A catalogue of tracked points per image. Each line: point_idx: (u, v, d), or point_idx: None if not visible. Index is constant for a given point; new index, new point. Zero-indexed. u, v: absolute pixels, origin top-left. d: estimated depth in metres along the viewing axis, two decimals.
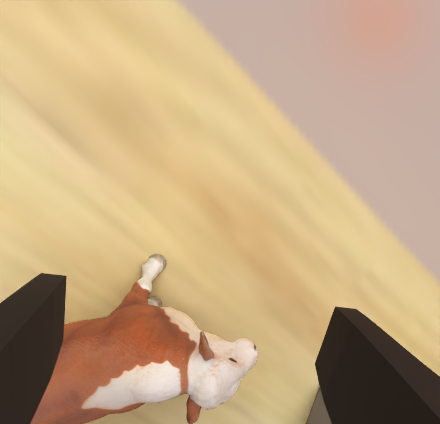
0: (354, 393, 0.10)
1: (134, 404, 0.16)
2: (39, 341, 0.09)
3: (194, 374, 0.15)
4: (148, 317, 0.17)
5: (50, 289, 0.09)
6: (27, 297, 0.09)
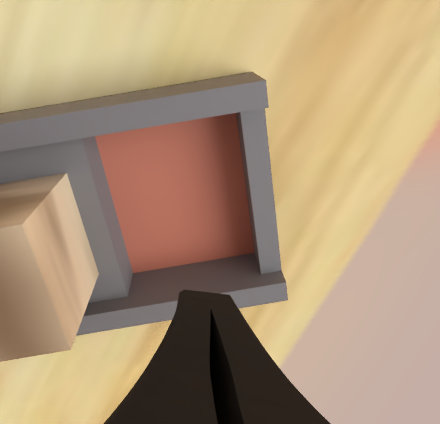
0: None
1: None
2: None
3: None
4: None
5: (206, 306, 0.10)
6: (193, 315, 0.09)
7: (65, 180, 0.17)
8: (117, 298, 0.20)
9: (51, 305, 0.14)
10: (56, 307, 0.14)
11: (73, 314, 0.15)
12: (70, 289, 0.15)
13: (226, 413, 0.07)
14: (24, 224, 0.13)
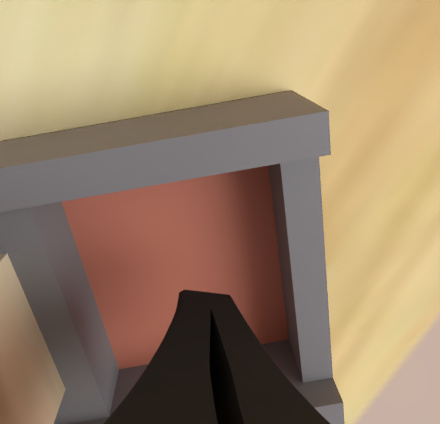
0: None
1: None
2: None
3: None
4: None
5: (206, 306, 0.10)
6: (193, 315, 0.09)
7: (3, 267, 0.11)
8: (93, 420, 0.14)
9: None
10: None
11: None
12: None
13: (226, 413, 0.07)
14: None
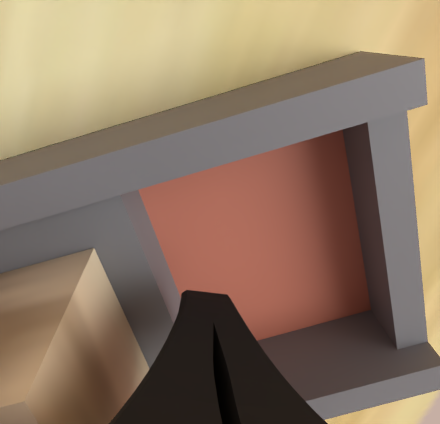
0: None
1: None
2: None
3: None
4: None
5: (209, 307, 0.10)
6: (197, 315, 0.09)
7: (93, 261, 0.11)
8: None
9: None
10: None
11: None
12: None
13: (223, 413, 0.07)
14: (29, 396, 0.07)
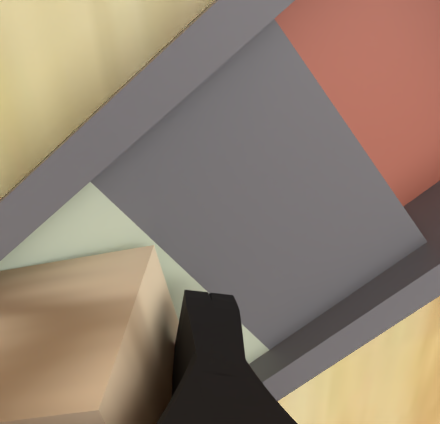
0: (181, 378, 0.09)
1: None
2: None
3: None
4: None
5: (235, 309, 0.10)
6: (224, 318, 0.09)
7: (153, 259, 0.11)
8: (413, 252, 0.12)
9: None
10: None
11: None
12: None
13: None
14: (102, 405, 0.07)
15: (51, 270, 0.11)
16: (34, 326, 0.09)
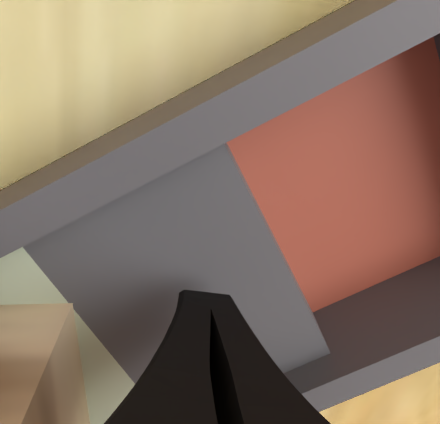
0: None
1: None
2: None
3: None
4: None
5: (206, 306, 0.10)
6: (193, 315, 0.09)
7: (69, 317, 0.11)
8: (316, 360, 0.13)
9: None
10: None
11: None
12: None
13: (226, 413, 0.07)
14: None
15: None
16: None
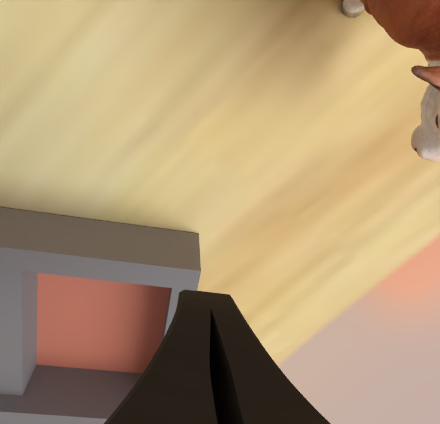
0: None
1: None
2: None
3: None
4: None
5: (206, 306, 0.10)
6: (193, 315, 0.09)
7: None
8: (11, 395, 0.20)
9: None
10: None
11: None
12: None
13: (226, 413, 0.07)
14: None
15: None
16: None
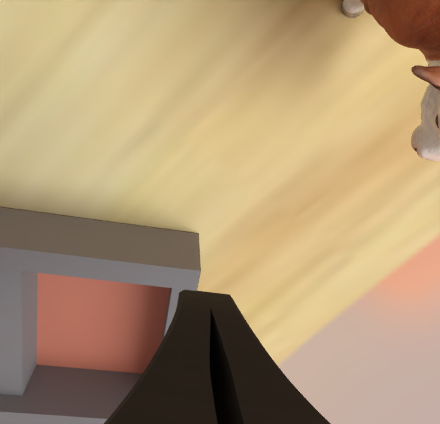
0: None
1: None
2: None
3: None
4: None
5: (206, 306, 0.10)
6: (193, 315, 0.09)
7: None
8: (11, 395, 0.20)
9: None
10: None
11: None
12: None
13: (226, 413, 0.07)
14: None
15: None
16: None
